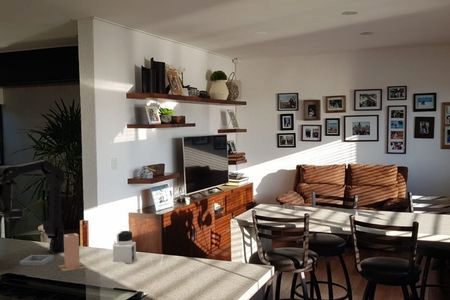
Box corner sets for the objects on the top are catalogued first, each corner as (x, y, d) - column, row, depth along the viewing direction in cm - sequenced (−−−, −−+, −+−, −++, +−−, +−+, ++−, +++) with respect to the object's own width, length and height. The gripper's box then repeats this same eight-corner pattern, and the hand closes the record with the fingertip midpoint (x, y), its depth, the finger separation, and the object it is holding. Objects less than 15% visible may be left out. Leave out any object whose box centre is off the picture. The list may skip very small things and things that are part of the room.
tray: (31, 260, 199) (31, 255, 199) (53, 260, 199) (53, 255, 198) (19, 267, 189) (19, 261, 189) (42, 267, 189) (42, 261, 188)
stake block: (58, 267, 187) (58, 257, 187) (81, 264, 192) (80, 254, 192) (62, 273, 180) (62, 262, 179) (85, 269, 184) (85, 258, 184)
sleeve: (64, 265, 187) (63, 234, 186) (77, 264, 189) (76, 233, 189) (66, 268, 182) (65, 237, 182) (79, 267, 185) (78, 235, 184)
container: (136, 259, 199) (135, 229, 198) (131, 264, 191) (130, 233, 191) (119, 258, 200) (118, 229, 199) (113, 263, 192) (112, 233, 192)
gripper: (-27, 195, 189) (-29, 232, 188) (-1, 197, 179) (-2, 237, 179) (-2, 194, 199) (-4, 230, 198) (24, 196, 189) (23, 234, 188)
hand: (2, 232), depth 190 cm, fingers open, 9 cm apart
